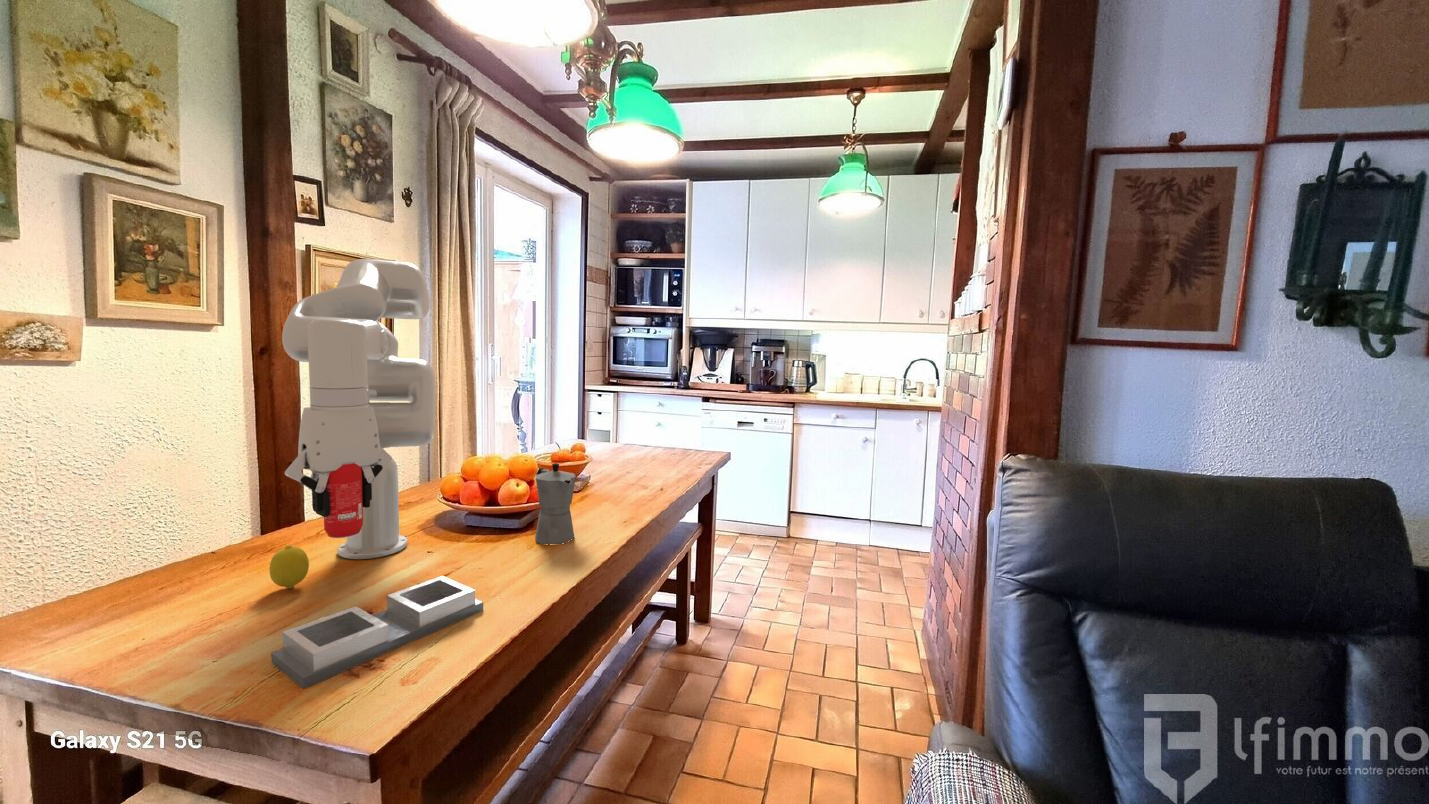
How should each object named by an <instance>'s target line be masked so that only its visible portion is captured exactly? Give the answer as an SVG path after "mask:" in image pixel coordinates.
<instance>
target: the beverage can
mask: <svg viewBox="0 0 1429 804" xmlns="http://www.w3.org/2000/svg"><path fill="white" fill-rule="evenodd" d="M325 489H326V491H328V492H329V503H330V515H329V516H327V517H323V529H324V530H323V531H324V532H325V533H326V534H327V537H328V538H331V539H342V538H343V539H345V538H347V537H350V536H354V535H356V534H358V533H360V530H361V528H362V526H363V499H362V467H360V466H359V465H357V464H355V462H351V463H343V464H342V466H341V467H339V468H338V469H337V470H336V471H333V472H330V474H329V477H328V480H327V483H326V487H325Z"/></svg>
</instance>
